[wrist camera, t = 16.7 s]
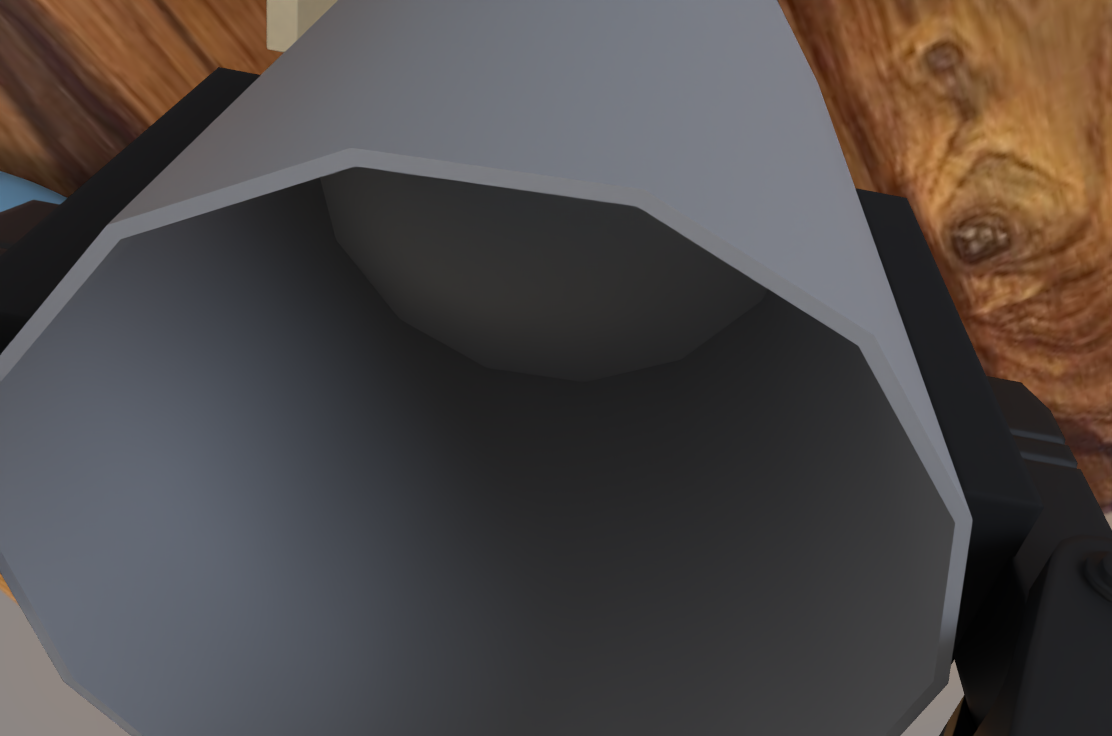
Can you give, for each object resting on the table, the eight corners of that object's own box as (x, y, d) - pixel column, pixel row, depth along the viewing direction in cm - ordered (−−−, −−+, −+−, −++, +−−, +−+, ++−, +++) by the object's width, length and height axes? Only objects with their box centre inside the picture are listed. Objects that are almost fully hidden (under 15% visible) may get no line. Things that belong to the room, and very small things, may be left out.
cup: (898, 245, 17) (1102, 762, 9) (501, 427, 20) (384, 938, 12) (656, -244, 14) (630, -119, 5) (214, 65, 17) (-230, 446, 8)
